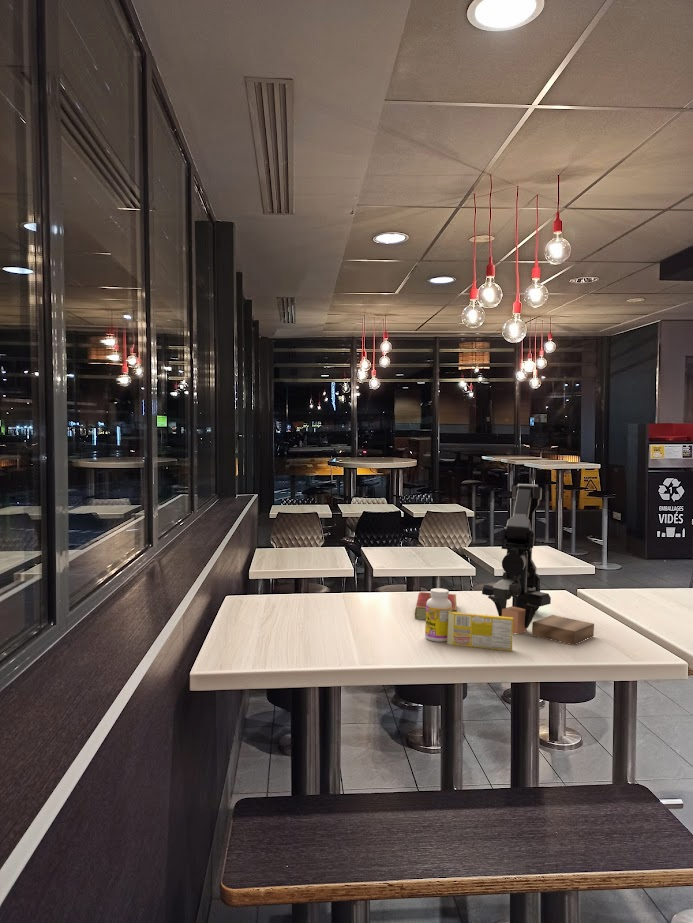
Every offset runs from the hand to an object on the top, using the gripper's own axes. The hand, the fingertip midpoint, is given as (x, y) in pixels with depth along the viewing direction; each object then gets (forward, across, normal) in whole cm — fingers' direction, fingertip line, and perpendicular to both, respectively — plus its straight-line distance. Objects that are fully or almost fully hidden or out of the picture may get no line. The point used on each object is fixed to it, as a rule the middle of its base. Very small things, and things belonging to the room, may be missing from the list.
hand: (514, 624), depth 189 cm
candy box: (+2, +3, -21) cm, 21 cm away
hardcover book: (+2, -27, -1) cm, 27 cm away
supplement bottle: (+2, -8, -24) cm, 25 cm away
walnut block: (+2, +11, +6) cm, 13 cm away
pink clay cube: (+2, 0, 0) cm, 2 cm away
